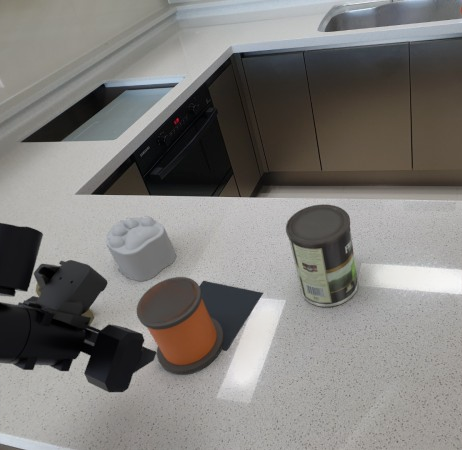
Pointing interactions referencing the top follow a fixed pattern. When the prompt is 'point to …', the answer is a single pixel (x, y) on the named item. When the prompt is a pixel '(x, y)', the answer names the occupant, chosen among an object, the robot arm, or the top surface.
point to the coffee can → (323, 254)
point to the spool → (180, 325)
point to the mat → (228, 307)
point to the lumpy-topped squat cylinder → (140, 247)
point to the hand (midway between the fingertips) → (129, 345)
